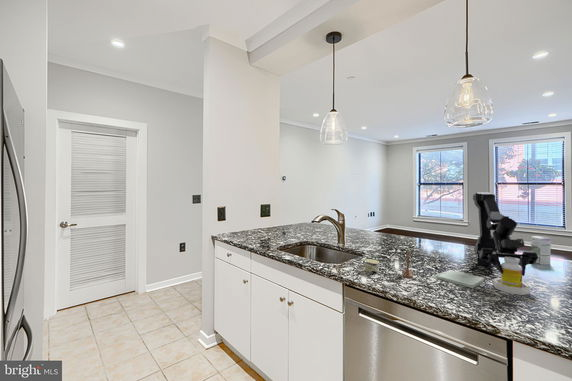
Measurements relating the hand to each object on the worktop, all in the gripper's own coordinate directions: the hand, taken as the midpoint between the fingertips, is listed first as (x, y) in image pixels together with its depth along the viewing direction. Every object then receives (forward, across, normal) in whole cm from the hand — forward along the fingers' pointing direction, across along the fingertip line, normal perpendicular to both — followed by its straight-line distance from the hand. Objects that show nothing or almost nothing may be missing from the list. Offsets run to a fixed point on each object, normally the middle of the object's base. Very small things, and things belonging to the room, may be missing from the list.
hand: (512, 274), depth 106 cm
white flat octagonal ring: (+4, 0, +6) cm, 7 cm away
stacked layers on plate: (+4, -54, +6) cm, 55 cm away
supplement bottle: (+4, 0, +6) cm, 7 cm away
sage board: (+1, -17, +9) cm, 19 cm away
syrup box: (-32, +30, +42) cm, 61 cm away
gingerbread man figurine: (+3, -38, +7) cm, 39 cm away
